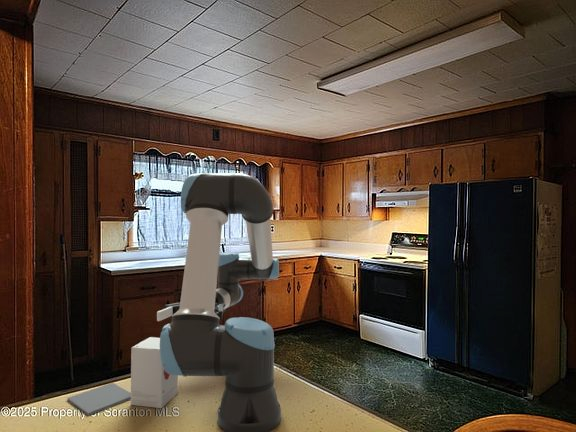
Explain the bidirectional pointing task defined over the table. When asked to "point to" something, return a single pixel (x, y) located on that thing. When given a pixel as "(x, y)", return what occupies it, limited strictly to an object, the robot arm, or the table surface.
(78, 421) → the table surface
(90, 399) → the mat
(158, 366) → the supplement box
